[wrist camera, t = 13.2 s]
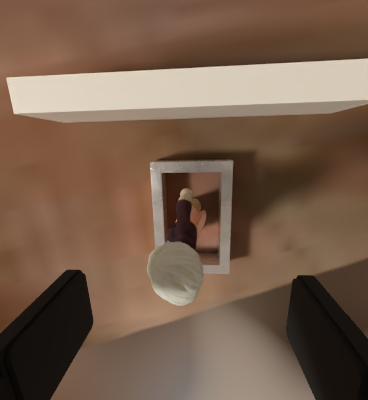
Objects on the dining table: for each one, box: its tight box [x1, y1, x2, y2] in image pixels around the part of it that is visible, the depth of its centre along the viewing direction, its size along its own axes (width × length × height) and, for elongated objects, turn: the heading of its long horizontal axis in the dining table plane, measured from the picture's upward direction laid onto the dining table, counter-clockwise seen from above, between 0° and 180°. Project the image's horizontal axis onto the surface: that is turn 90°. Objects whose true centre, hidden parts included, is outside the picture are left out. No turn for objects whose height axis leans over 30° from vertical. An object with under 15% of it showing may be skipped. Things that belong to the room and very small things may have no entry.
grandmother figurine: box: [147, 188, 206, 306], centre depth 17 cm, size 8×4×13 cm, turn 5°
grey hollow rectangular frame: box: [150, 159, 233, 274], centre depth 21 cm, size 8×12×2 cm, turn 1°
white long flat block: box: [7, 59, 368, 123], centre depth 17 cm, size 26×2×6 cm, turn 91°
